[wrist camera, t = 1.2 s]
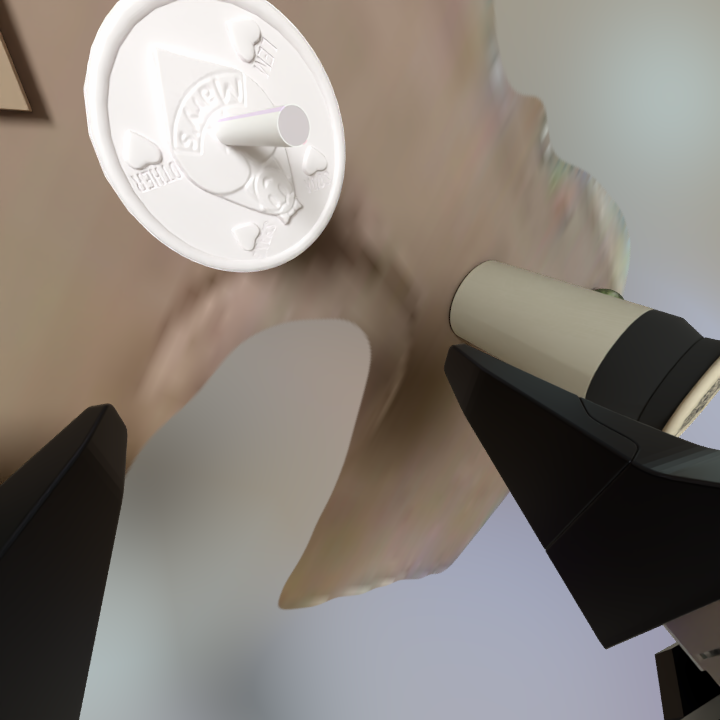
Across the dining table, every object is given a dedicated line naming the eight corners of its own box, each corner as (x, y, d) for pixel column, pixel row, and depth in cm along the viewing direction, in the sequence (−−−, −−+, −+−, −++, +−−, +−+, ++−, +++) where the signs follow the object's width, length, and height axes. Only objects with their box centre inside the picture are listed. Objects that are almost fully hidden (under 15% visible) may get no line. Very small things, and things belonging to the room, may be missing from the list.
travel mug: (437, 301, 30) (679, 419, 17) (496, 241, 30) (774, 312, 18) (459, 350, 36) (654, 465, 23) (509, 298, 36) (727, 383, 23)
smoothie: (165, 13, 13) (334, -374, 3) (277, 159, 18) (490, 182, 8) (56, 132, 13) (-106, 104, 3) (197, 248, 18) (309, 384, 8)
